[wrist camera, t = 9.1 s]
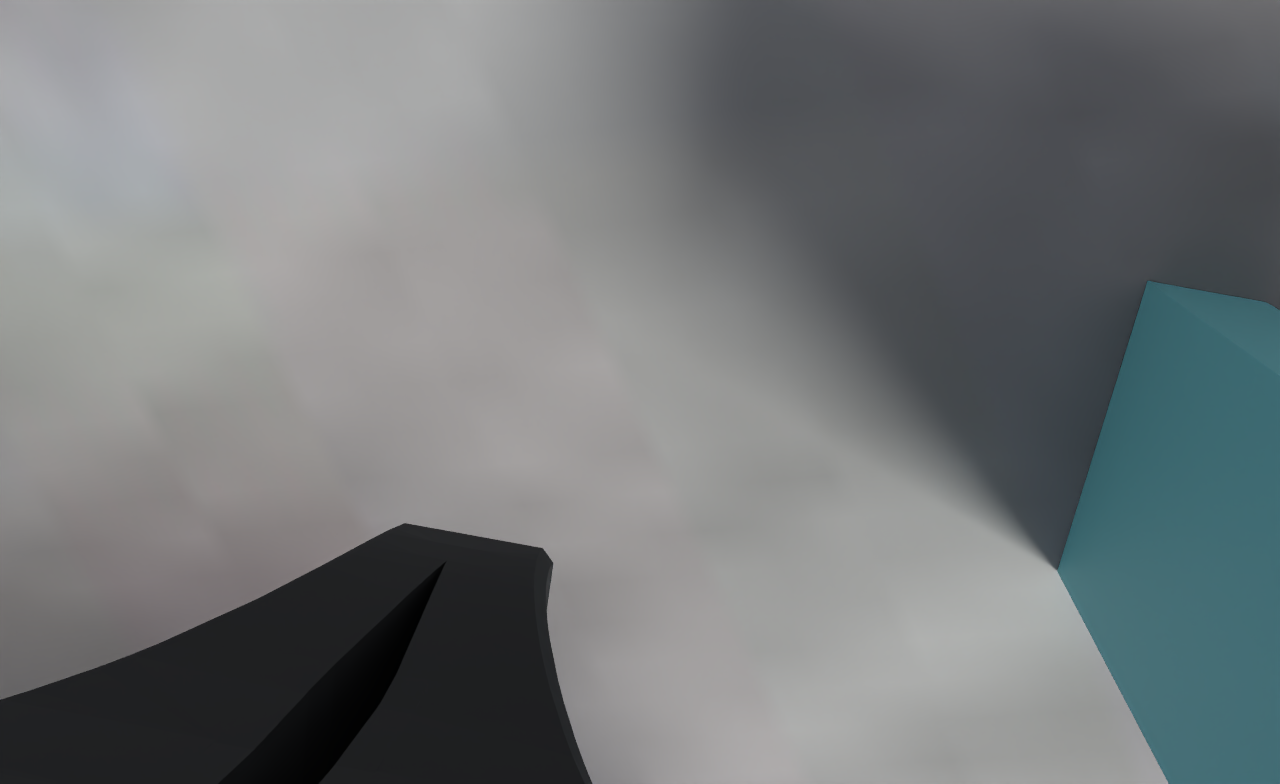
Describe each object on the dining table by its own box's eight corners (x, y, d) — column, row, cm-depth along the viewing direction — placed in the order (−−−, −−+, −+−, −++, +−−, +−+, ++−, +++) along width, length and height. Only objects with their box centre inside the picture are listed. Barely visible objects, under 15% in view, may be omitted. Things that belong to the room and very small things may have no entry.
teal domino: (1057, 571, 20) (1284, 1005, 11) (1147, 280, 18) (1495, 530, 10) (1165, 591, 20) (1477, 1043, 11) (1266, 302, 18) (1722, 572, 9)
